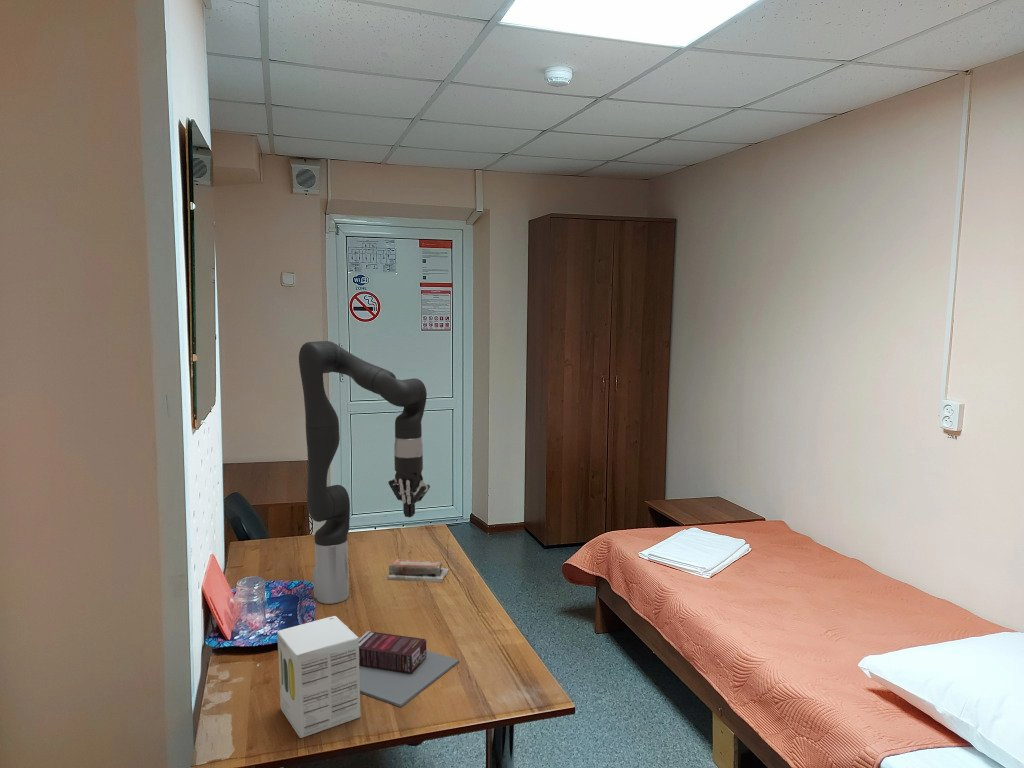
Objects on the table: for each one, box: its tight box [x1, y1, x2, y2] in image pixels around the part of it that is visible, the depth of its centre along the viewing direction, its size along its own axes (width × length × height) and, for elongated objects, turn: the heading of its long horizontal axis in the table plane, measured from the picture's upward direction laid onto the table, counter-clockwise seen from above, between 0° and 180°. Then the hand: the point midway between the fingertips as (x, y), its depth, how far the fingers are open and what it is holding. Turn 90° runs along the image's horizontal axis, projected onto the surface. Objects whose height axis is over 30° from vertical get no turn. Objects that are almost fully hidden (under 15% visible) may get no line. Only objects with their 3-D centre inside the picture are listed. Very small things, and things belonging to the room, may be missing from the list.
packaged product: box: [386, 558, 450, 583], centre depth 223 cm, size 18×5×10 cm
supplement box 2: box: [359, 630, 427, 674], centre depth 167 cm, size 9×5×16 cm
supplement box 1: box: [276, 615, 362, 739], centre depth 146 cm, size 13×13×18 cm
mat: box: [359, 649, 460, 708], centre depth 164 cm, size 20×22×1 cm
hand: (409, 516), depth 190 cm, fingers closed
